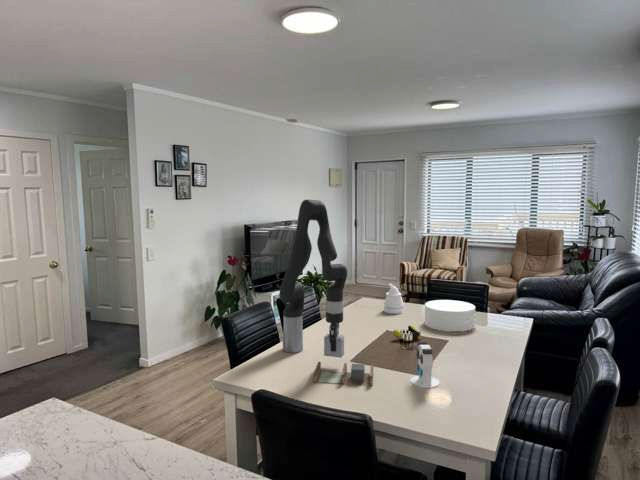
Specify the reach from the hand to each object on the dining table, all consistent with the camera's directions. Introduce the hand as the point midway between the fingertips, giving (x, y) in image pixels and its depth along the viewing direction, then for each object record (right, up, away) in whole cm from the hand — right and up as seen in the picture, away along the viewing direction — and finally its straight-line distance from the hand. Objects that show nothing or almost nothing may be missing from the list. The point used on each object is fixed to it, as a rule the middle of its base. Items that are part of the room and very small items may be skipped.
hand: (334, 348), depth 186 cm
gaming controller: (+40, -5, +40) cm, 57 cm away
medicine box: (0, -3, 0) cm, 3 cm away
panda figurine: (+36, -10, -14) cm, 40 cm away
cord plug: (+9, -9, -11) cm, 17 cm away
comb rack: (+4, -10, -12) cm, 16 cm away
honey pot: (+42, 0, +96) cm, 105 cm away
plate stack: (+69, -3, +65) cm, 95 cm away
